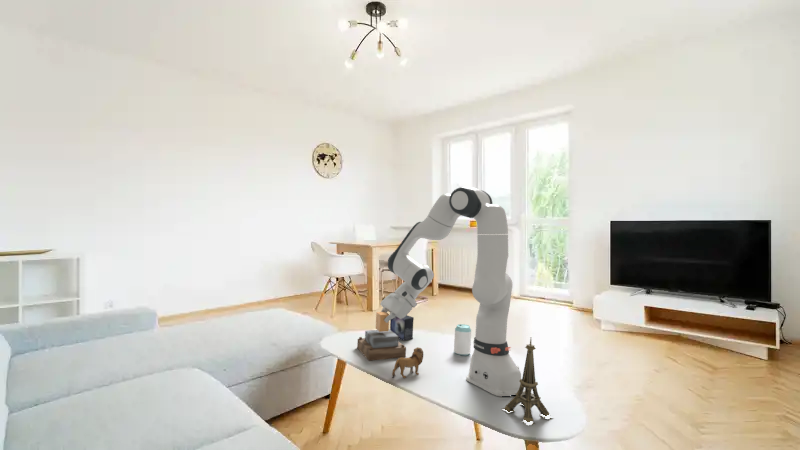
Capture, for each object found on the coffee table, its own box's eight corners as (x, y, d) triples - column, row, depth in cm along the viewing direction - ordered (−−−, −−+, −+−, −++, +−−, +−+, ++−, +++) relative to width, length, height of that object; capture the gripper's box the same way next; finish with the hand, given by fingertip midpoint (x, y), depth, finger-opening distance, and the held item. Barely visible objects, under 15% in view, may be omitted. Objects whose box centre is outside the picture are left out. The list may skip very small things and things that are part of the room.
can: (454, 355, 164) (455, 327, 164) (453, 349, 171) (455, 323, 171) (470, 356, 163) (472, 328, 163) (469, 351, 170) (471, 324, 170)
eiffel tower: (553, 418, 114) (557, 334, 113) (528, 426, 108) (533, 338, 108) (525, 403, 123) (529, 325, 123) (501, 409, 117) (505, 328, 117)
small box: (388, 335, 188) (389, 314, 188) (398, 333, 192) (399, 312, 192) (403, 341, 180) (404, 318, 180) (413, 338, 185) (414, 317, 185)
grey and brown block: (405, 357, 159) (406, 337, 159) (368, 360, 153) (369, 340, 153) (391, 344, 174) (392, 327, 174) (357, 347, 167) (358, 329, 167)
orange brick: (388, 331, 162) (389, 314, 162) (379, 331, 160) (380, 314, 160) (384, 327, 166) (385, 311, 166) (375, 328, 165) (376, 312, 165)
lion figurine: (416, 368, 148) (417, 344, 148) (426, 372, 144) (427, 348, 144) (387, 377, 137) (388, 352, 137) (397, 382, 134) (398, 356, 134)
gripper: (391, 286, 175) (369, 308, 172) (409, 295, 157) (386, 320, 153) (399, 296, 177) (378, 318, 173) (418, 305, 158) (395, 331, 155)
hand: (382, 319), depth 163 cm, fingers closed on orange brick, 5 cm apart
